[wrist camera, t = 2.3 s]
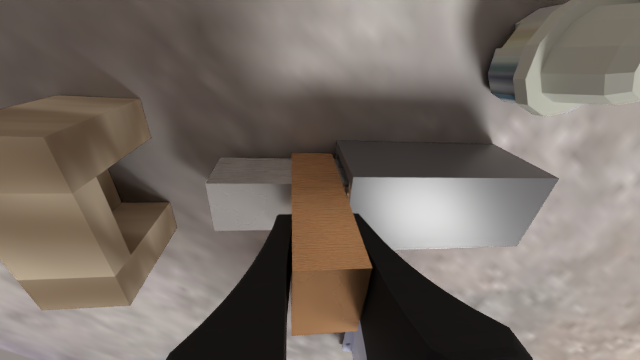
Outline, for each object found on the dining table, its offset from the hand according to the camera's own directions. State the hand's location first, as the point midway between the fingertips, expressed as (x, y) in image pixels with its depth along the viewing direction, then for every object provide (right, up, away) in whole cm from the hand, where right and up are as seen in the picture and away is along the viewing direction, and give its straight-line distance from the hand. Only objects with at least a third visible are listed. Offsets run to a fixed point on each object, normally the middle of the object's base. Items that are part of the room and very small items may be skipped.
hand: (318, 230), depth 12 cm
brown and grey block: (+2, +3, +5) cm, 6 cm away
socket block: (-12, +3, +4) cm, 13 cm away
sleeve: (+6, +3, +6) cm, 9 cm away
